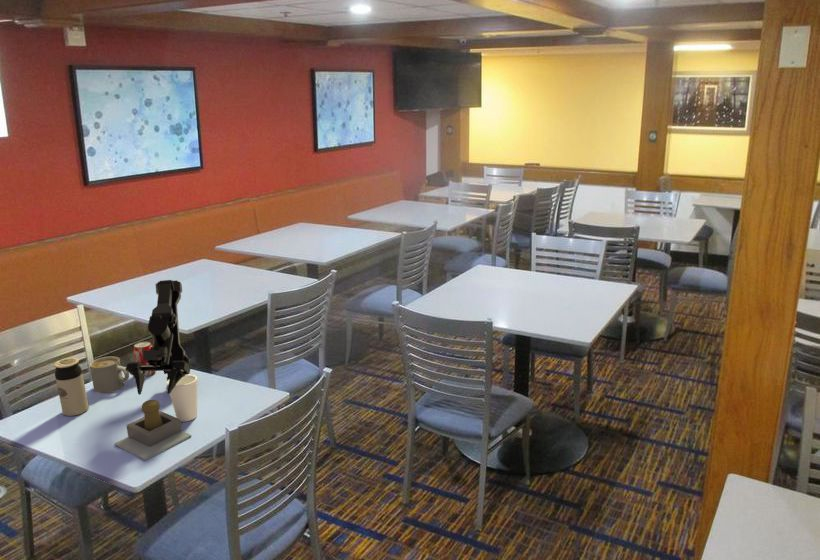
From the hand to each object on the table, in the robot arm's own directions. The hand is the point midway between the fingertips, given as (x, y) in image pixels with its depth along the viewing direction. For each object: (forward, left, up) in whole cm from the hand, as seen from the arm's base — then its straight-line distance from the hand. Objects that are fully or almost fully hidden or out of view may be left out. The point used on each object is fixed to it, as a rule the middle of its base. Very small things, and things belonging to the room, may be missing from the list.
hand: (153, 394), depth 208 cm
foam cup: (-10, +1, -13) cm, 16 cm away
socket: (+5, +4, -12) cm, 14 cm away
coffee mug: (-9, -42, -13) cm, 45 cm away
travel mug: (+8, -36, -13) cm, 39 cm away
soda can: (-23, -42, -13) cm, 50 cm away
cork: (+3, +2, -12) cm, 13 cm away
